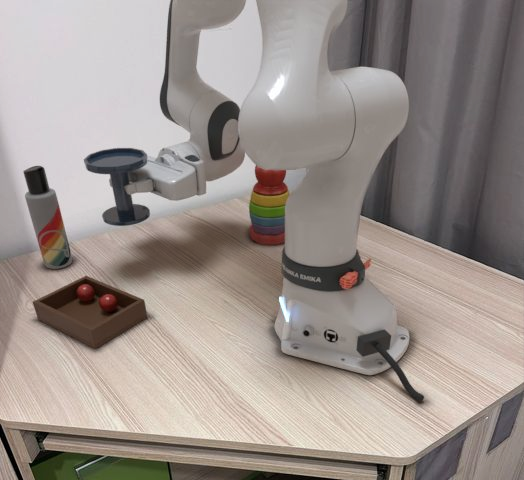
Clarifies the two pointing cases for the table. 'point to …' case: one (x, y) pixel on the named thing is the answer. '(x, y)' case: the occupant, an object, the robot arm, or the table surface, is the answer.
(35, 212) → the lotion bottle
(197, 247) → the table surface
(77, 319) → the walnut tray
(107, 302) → the ball
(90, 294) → the ball
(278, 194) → the stacking bear
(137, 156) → the footed dish
